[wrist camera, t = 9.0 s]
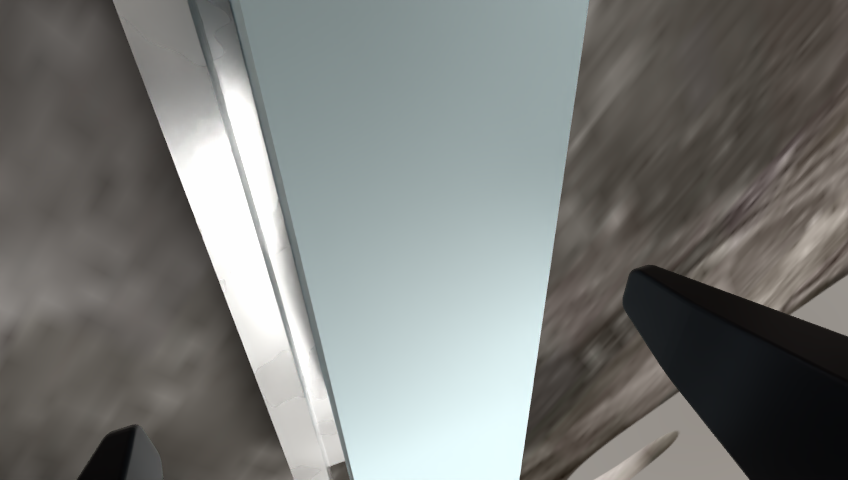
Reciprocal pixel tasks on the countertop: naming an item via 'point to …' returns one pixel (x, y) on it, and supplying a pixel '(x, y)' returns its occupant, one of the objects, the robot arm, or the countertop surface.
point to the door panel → (420, 211)
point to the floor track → (236, 209)
